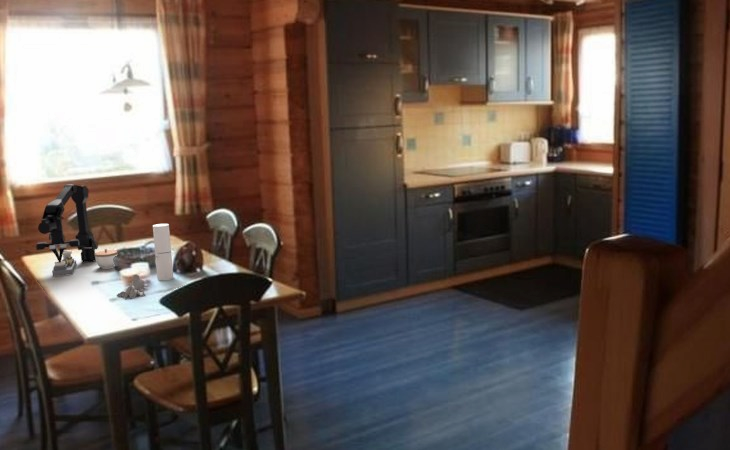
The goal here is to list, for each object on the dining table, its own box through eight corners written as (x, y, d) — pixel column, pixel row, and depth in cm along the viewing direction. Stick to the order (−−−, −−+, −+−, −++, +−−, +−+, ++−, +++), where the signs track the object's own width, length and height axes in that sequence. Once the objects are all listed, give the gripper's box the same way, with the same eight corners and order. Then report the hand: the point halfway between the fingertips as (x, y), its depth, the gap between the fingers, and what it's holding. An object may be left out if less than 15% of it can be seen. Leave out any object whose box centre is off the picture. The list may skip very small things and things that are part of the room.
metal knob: (73, 264, 350) (72, 256, 349) (72, 265, 347) (71, 257, 346) (66, 264, 349) (65, 257, 348) (66, 266, 346) (65, 258, 345)
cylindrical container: (169, 280, 321) (164, 226, 316) (154, 280, 322) (149, 226, 318) (176, 276, 328) (171, 223, 323) (162, 276, 329) (157, 223, 325)
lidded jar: (122, 264, 356) (120, 246, 354) (113, 270, 346) (111, 251, 344) (102, 265, 357) (100, 247, 355) (92, 270, 347) (90, 251, 345)
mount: (76, 265, 359) (75, 257, 358) (72, 274, 339) (71, 266, 339) (57, 266, 357) (57, 259, 356) (52, 276, 337) (51, 268, 336)
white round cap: (73, 260, 356) (72, 249, 355) (72, 262, 351) (71, 251, 350) (63, 261, 355) (61, 250, 354) (61, 263, 350) (60, 252, 349)
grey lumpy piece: (146, 294, 292) (128, 280, 290) (131, 312, 292) (112, 298, 291) (154, 284, 312) (136, 271, 310) (139, 301, 312) (122, 288, 310)
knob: (67, 271, 345) (65, 260, 344) (66, 273, 340) (64, 262, 339) (56, 272, 343) (55, 261, 342) (55, 274, 339) (54, 263, 338)
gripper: (78, 225, 348) (82, 256, 351) (37, 229, 343) (41, 260, 346) (76, 229, 338) (80, 261, 340) (34, 232, 332) (38, 265, 335)
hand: (60, 261), depth 341 cm, fingers closed, pressing on knob
